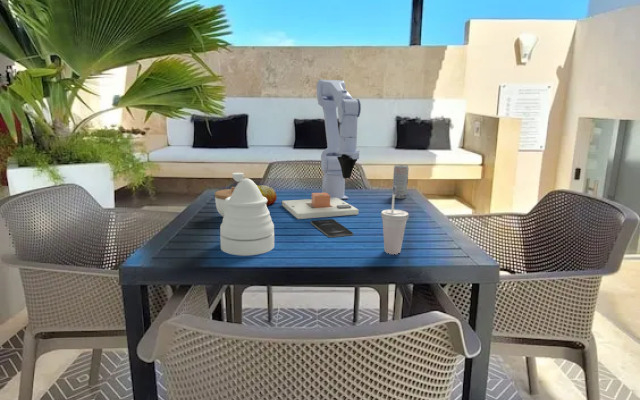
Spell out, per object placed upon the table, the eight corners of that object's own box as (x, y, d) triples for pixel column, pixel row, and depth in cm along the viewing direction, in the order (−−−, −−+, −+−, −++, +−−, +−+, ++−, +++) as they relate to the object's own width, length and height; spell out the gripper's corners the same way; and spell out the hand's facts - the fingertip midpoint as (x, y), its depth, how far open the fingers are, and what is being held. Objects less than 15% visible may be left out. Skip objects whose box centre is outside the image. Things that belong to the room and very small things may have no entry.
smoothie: (376, 247, 106) (379, 191, 102) (402, 247, 106) (405, 191, 103) (382, 256, 99) (385, 197, 96) (409, 256, 100) (413, 197, 97)
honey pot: (226, 258, 96) (224, 179, 92) (216, 241, 108) (213, 170, 104) (281, 251, 101) (281, 176, 97) (265, 235, 113) (265, 167, 109)
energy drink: (405, 195, 165) (408, 164, 162) (407, 199, 160) (409, 166, 157) (391, 195, 165) (393, 164, 163) (392, 198, 160) (394, 166, 157)
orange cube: (311, 208, 143) (311, 192, 142) (326, 207, 144) (326, 192, 143) (314, 212, 138) (315, 195, 137) (329, 211, 139) (330, 195, 138)
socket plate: (282, 205, 146) (282, 199, 145) (336, 201, 153) (336, 195, 152) (297, 219, 129) (298, 211, 129) (358, 214, 136) (358, 207, 136)
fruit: (276, 206, 143) (269, 183, 141) (246, 214, 144) (239, 192, 142) (280, 198, 154) (273, 177, 152) (252, 206, 154) (245, 185, 153)
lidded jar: (258, 215, 132) (258, 185, 130) (238, 224, 123) (237, 192, 121) (230, 211, 137) (229, 182, 134) (208, 219, 127) (206, 188, 125)
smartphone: (329, 236, 112) (309, 220, 126) (329, 239, 112) (309, 223, 126) (355, 233, 115) (333, 218, 128) (354, 237, 115) (333, 221, 129)
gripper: (368, 138, 135) (366, 181, 138) (350, 135, 148) (349, 173, 152) (347, 139, 133) (346, 182, 136) (331, 135, 146) (330, 174, 149)
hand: (346, 178), depth 144 cm, fingers closed
